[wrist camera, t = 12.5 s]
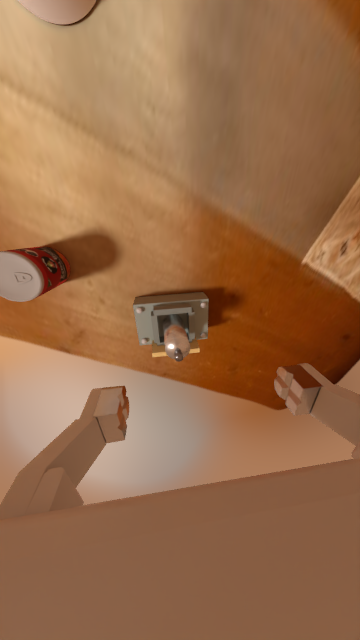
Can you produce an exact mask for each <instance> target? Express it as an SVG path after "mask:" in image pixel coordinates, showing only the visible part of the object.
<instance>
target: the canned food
mask: <svg viewBox="0 0 360 640" xmlns="http://www.w3.org/2000/svg"><path fill="white" fill-rule="evenodd" d="M69 274H70V266H69V263H68V261H67V259H66V258H65V257H64V256H63V255H62V254H61V253H60V252H58V251H56V250H54V249H52V248H49V247H34V248H25V249H16V250H8V251H1V252H0V296H2V297H4V298H6V299H9V300H12V301H18V302H24V301H29V300H32V299H34V298H37V297H38V296H41V295H42V294H44V293H46V292H48V291H50V290H51V289H53V288H55V287H57V286H59V285H60V284H62V283H64V282H65V281H66V280H67V279H68V277H69Z"/></svg>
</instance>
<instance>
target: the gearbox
mask: <svg viewBox="0 0 360 640" xmlns="http://www.w3.org/2000/svg"><path fill="white" fill-rule="evenodd" d="M208 301H209V299H208V297H207V296H206V295H205V294H204V292H196V293H183V294H170V295H158V296H145V297H135V300H134V303H133V308H134V314H135V320H136V326H137V332H138V337H139V343H140V345H147V344H152V357H159V356H168V355H167V354H166V351H165V341H164V330H163V320H164V318H165V317H166V316H168V315H170V314H176V315H179V316H180V317H181V318H182V321H183V324H184V327H185V331H186V334H187V337H188V340H189V343H190V352H189V353H196V352H200V348H199V345H198V343H197V339H207V338H208Z"/></svg>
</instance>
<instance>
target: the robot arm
mask: <svg viewBox="0 0 360 640" xmlns="http://www.w3.org/2000/svg"><path fill="white" fill-rule="evenodd" d="M18 1H19V2H20V3H21V4H22V5H23V6H24V7H25V8H26V9H27V10H29V11H30V12H31V13H33V14H34V15H36V16H37V17H39V18H41V19H43V20H45V21H48V22H51V23H54V24H71V23H74V22H76V21H78V20H80V19H82V18H83V17H84V16H85V15H87V13H88V12H89V11H90V10H91V9H92V7H93V6H94V4H95V2H96V0H18ZM277 374H278V375H279V376H278V377H277V378H276V379H275V382H274V385H275V390H276V392H277V393H278V395H279V396H280V397H281V398H283V399H285V404H286V406H287V407H288V408H289V409H290V411H291V412H292V413H293V415H302V414H310V415H312V416H313V417H315V418H316V419H318V420H319V421H321V422H322V423H323V424H325V425H326V426H328V427H329V428H331V429H332V430H334V431H335V432H337V433H338V434H339V435H341V436H342V437H344V438H345V439H347V440H348V441H350V442H351V443H353V444H354V445H355V446H356V447H355V449H354V450H353V452H352V457H353V458H354V459H350V460H344V461H339V462H333V463H327V464H322V465H315V466H309V467H303V468H298V469H292V470H286V471H280V472H274V473H269V474H262V475H257V476H251V477H245V478H239V479H234V480H228V481H222V482H216V483H210V484H204V485H199V486H193V487H187V488H181V489H176V490H169V491H164V492H158V493H152V494H146V495H141V496H135V497H129V498H123V499H117V500H112V501H106V502H100V503H94V504H88V505H83V500H82V498H81V496H80V495H79V493H78V492H77V490H76V487H77V485H78V484H79V483H80V481H81V480H82V478H83V477H84V475H85V474H86V472H87V471H88V470H89V468H90V467H91V465H92V464H93V462H94V461H95V460H96V458H97V457H98V455H99V454H100V452H101V451H102V450H103V448H104V446H105V445H106V443H110V442H116V441H122V440H125V435H126V429H127V425H126V420H127V418H128V415H129V400H128V397H126V388H125V386H116V387H106V388H97V389H93V390H92V391H91V392H90V395H89V398H88V400H87V402H86V405H85V407H84V409H83V412H82V414H81V417H80V419H78V420H75V421H74V422H73V423H72V424H71V425H70V426H69V427H68V428H67V429H65V430H64V431H63V432H62V433H61V434H60V435H59V436H58V437H57V438H56V439H54V440H53V441H52V442H51V443H50V444H49V445H48V446H47V447H46V448H45V449H44V450H43V451H41V452H40V453H39V455H37V456H36V457H35V458H34V459H33V460H32V461H31V462H30V463H29V464H27V465H26V466H25V467H24V468H23V469H22V470H21V471H20V472H19V473H18V475H17V477H16V478H15V480H14V482H13V484H12V485H11V487H10V489H9V491H8V492H7V494H6V496H5V497H4V499H3V501H2V503H1V504H0V640H360V395H359V394H357V393H355V392H352V391H350V390H347V389H345V388H343V387H340V386H338V385H333V384H332V383H331V382H330V381H328V380H327V379H326V378H325V377H324V376H323V375H321V374H320V373H319V372H318V371H317V370H316V369H314V368H313V367H312V366H311V365H309V364H307V363H305V364H298V365H290V366H283V367H279V368H278V370H277Z"/></svg>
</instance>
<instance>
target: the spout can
mask: <svg viewBox="0 0 360 640" xmlns="http://www.w3.org/2000/svg"><path fill="white" fill-rule="evenodd" d="M163 330H164V341H165V351H166V354H167V355H168V356H169V357H170V358H173V359H175V360H176V361H182V360H183V358H184V357H185V356H187V355H188V353H189V352H190V343H189V340H188V337H187V334H186V331H185V327H184V324H183V321H182V318H181V317H180V316H179V315H176V314H170V315H168V316H166V317H165V318H164V320H163Z"/></svg>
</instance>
